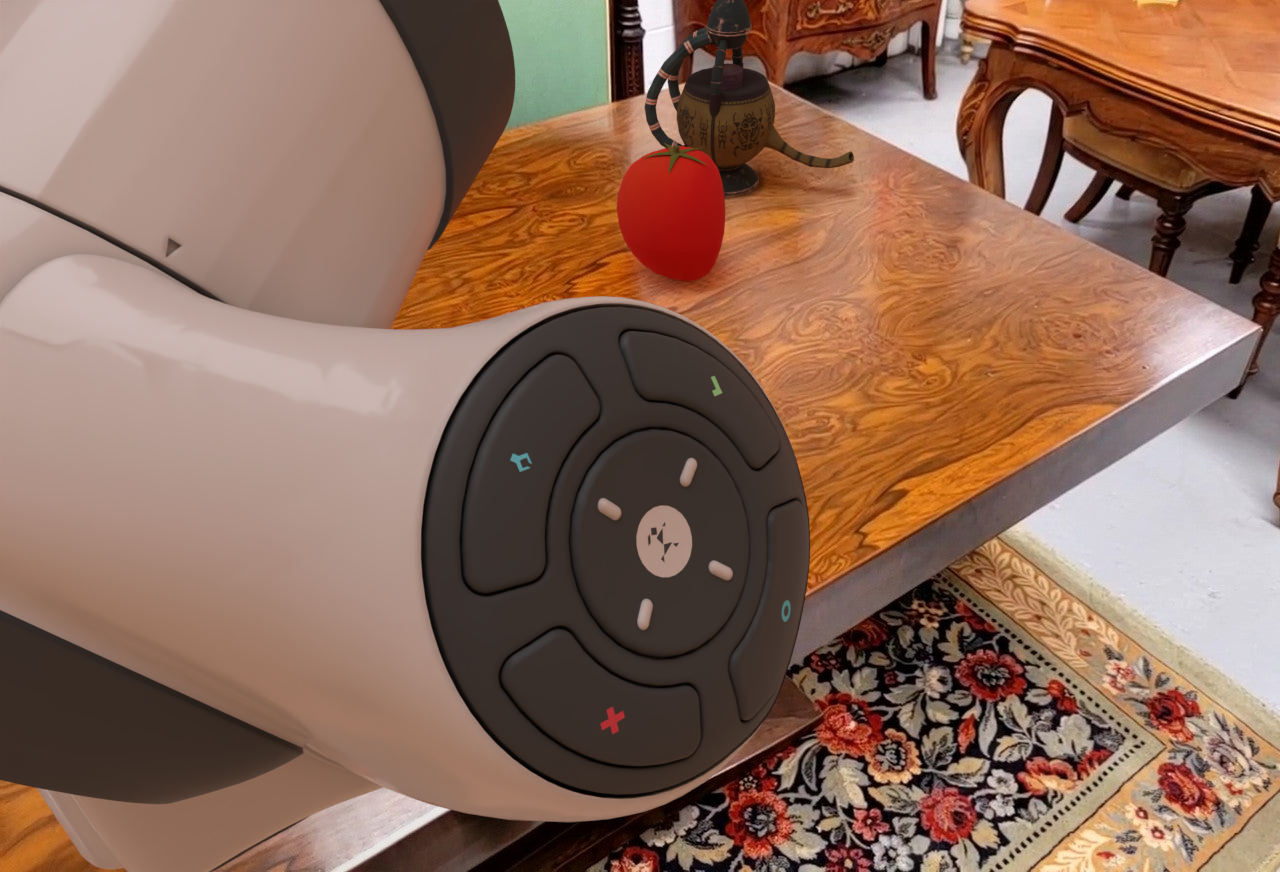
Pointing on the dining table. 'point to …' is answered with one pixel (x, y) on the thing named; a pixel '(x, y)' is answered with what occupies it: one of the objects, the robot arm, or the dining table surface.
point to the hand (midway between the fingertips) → (314, 618)
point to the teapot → (725, 103)
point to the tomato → (673, 212)
